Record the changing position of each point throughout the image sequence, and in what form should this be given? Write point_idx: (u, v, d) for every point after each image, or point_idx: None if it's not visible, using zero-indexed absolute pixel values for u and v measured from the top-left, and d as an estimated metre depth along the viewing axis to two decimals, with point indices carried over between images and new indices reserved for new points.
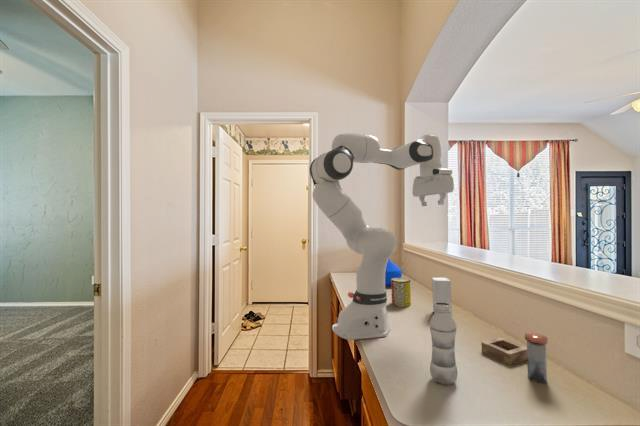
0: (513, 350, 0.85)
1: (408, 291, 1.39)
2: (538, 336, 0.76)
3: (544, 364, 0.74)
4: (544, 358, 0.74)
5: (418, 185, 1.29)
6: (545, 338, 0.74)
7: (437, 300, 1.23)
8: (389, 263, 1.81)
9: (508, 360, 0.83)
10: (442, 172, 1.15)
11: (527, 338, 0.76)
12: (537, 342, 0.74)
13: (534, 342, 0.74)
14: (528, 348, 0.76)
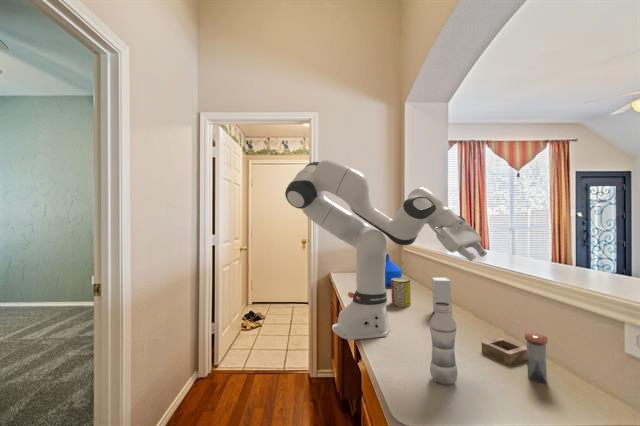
0: (513, 350, 0.85)
1: (408, 291, 1.39)
2: (538, 336, 0.76)
3: (544, 364, 0.74)
4: (544, 358, 0.74)
5: (452, 233, 0.90)
6: (545, 338, 0.74)
7: (437, 300, 1.23)
8: (389, 263, 1.81)
9: (508, 360, 0.83)
10: None
11: (527, 338, 0.76)
12: (537, 342, 0.74)
13: (534, 342, 0.74)
14: (528, 348, 0.76)
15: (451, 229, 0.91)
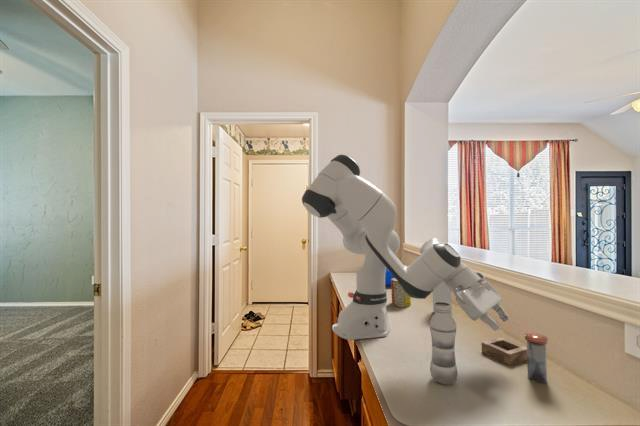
0: (513, 350, 0.85)
1: None
2: (538, 336, 0.76)
3: (544, 364, 0.74)
4: (544, 358, 0.74)
5: (473, 296, 0.80)
6: (545, 338, 0.74)
7: (437, 300, 1.23)
8: None
9: (508, 360, 0.83)
10: None
11: (527, 338, 0.76)
12: (537, 342, 0.74)
13: (534, 342, 0.74)
14: (528, 348, 0.76)
15: (472, 291, 0.82)
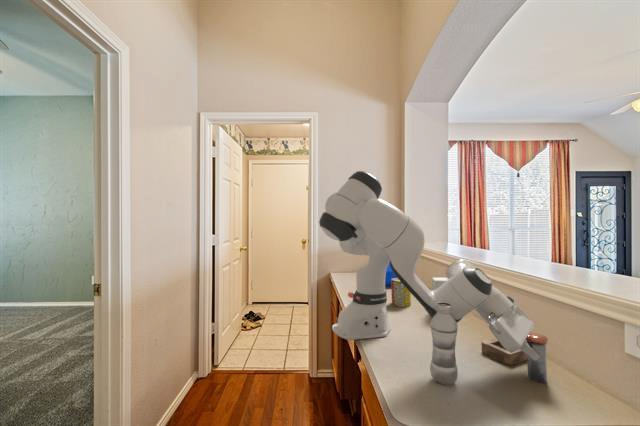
0: None
1: (408, 291, 1.39)
2: (538, 336, 0.76)
3: (544, 364, 0.74)
4: (544, 358, 0.74)
5: (508, 325, 0.75)
6: (545, 338, 0.74)
7: None
8: None
9: (508, 360, 0.83)
10: None
11: (527, 338, 0.76)
12: (537, 342, 0.74)
13: (534, 342, 0.74)
14: None
15: (506, 319, 0.76)
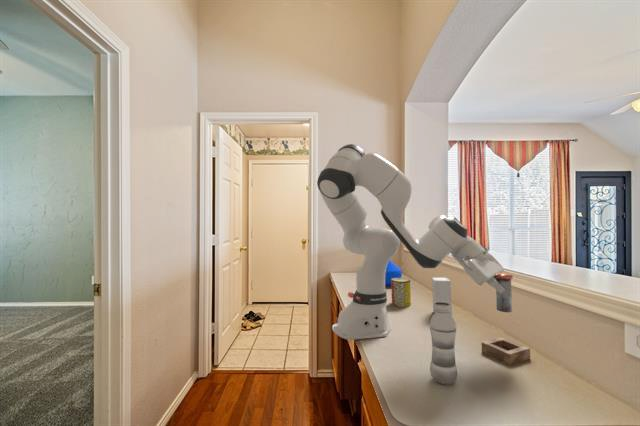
0: (513, 350, 0.85)
1: (408, 291, 1.39)
2: (505, 274, 0.89)
3: (509, 296, 0.87)
4: (509, 291, 0.87)
5: (479, 265, 0.88)
6: (510, 275, 0.88)
7: (437, 300, 1.23)
8: (389, 263, 1.81)
9: (508, 360, 0.83)
10: None
11: (495, 276, 0.89)
12: (503, 278, 0.87)
13: (501, 278, 0.87)
14: None
15: (477, 260, 0.90)
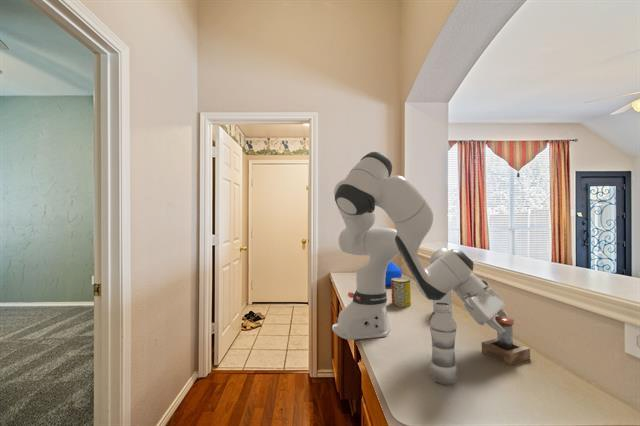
0: (513, 350, 0.85)
1: (408, 291, 1.39)
2: (506, 318, 0.89)
3: (511, 342, 0.87)
4: (511, 337, 0.87)
5: (480, 303, 0.88)
6: (512, 320, 0.87)
7: (437, 300, 1.23)
8: (389, 263, 1.81)
9: (508, 360, 0.83)
10: None
11: (497, 320, 0.89)
12: (505, 323, 0.87)
13: (502, 323, 0.87)
14: None
15: (478, 298, 0.90)
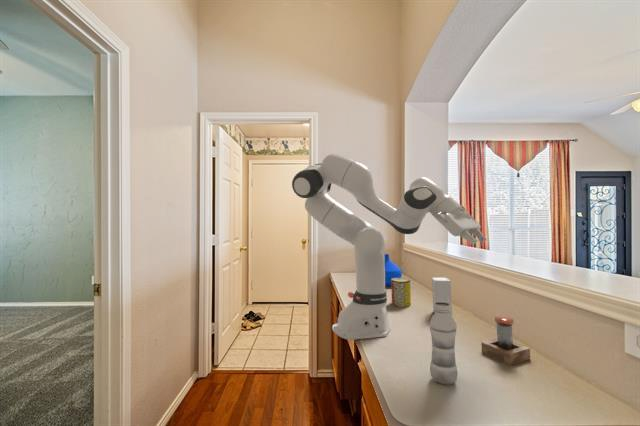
0: (513, 350, 0.85)
1: (408, 291, 1.39)
2: (506, 318, 0.89)
3: (510, 342, 0.87)
4: (510, 337, 0.87)
5: (455, 218, 0.93)
6: (511, 320, 0.87)
7: (437, 300, 1.23)
8: (389, 263, 1.81)
9: (508, 360, 0.83)
10: None
11: (496, 320, 0.89)
12: (504, 323, 0.87)
13: (502, 323, 0.87)
14: (497, 329, 0.89)
15: (453, 215, 0.94)
